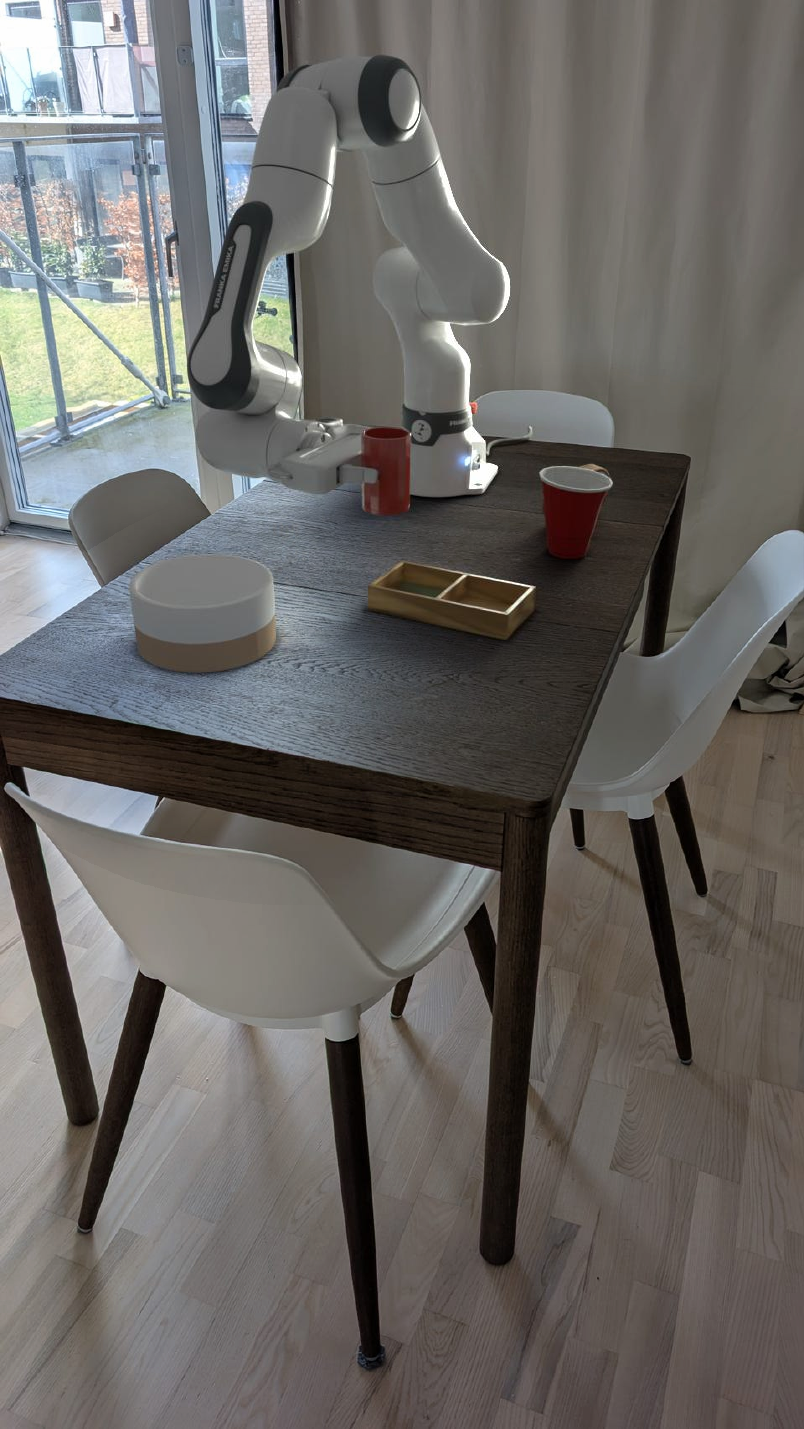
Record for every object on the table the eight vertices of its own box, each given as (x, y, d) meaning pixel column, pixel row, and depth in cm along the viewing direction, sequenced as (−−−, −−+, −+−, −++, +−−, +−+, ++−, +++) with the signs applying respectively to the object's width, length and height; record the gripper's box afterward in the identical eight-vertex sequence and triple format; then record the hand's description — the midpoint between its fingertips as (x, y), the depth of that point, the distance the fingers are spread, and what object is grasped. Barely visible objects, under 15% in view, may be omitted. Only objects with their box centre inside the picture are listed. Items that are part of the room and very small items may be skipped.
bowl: (155, 611, 137) (148, 551, 133) (284, 614, 136) (281, 554, 132) (120, 671, 122) (111, 606, 118) (265, 675, 121) (261, 610, 117)
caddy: (402, 583, 146) (402, 560, 144) (534, 610, 138) (536, 586, 137) (367, 610, 138) (367, 585, 136) (505, 640, 130) (507, 614, 129)
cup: (376, 497, 143) (376, 424, 138) (417, 504, 140) (419, 430, 135) (353, 510, 138) (352, 435, 133) (396, 518, 135) (397, 442, 130)
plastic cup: (603, 568, 152) (612, 488, 146) (529, 562, 153) (536, 483, 147) (606, 543, 161) (614, 467, 155) (536, 537, 163) (542, 462, 157)
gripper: (258, 449, 132) (353, 464, 126) (338, 414, 148) (426, 427, 142) (261, 497, 135) (354, 514, 130) (339, 458, 151) (424, 472, 145)
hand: (392, 468), depth 136 cm, fingers closed on cup, 6 cm apart
